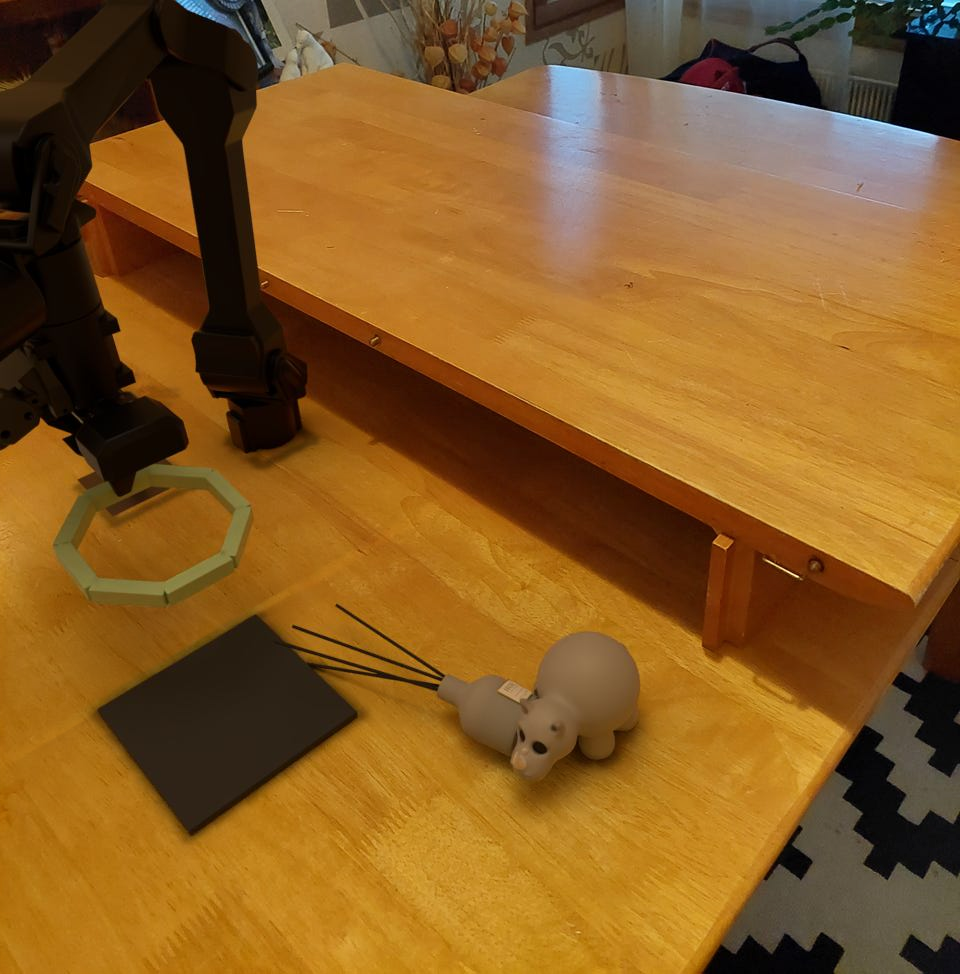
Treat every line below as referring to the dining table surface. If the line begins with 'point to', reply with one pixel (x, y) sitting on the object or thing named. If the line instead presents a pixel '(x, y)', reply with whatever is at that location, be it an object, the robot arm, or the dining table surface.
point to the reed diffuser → (452, 693)
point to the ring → (177, 585)
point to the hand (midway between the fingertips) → (119, 489)
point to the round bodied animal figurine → (577, 703)
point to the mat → (225, 720)
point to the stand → (129, 502)
